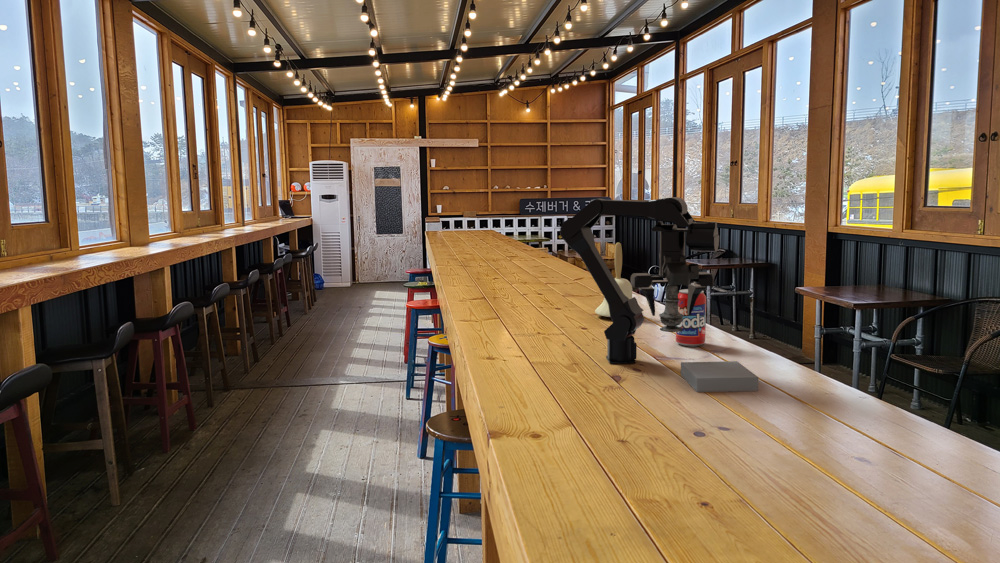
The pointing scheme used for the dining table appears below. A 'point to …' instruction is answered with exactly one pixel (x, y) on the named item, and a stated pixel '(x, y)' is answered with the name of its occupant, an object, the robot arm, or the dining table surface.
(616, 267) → the handbell
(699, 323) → the soda can
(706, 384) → the riser
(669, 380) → the dining table surface
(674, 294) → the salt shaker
